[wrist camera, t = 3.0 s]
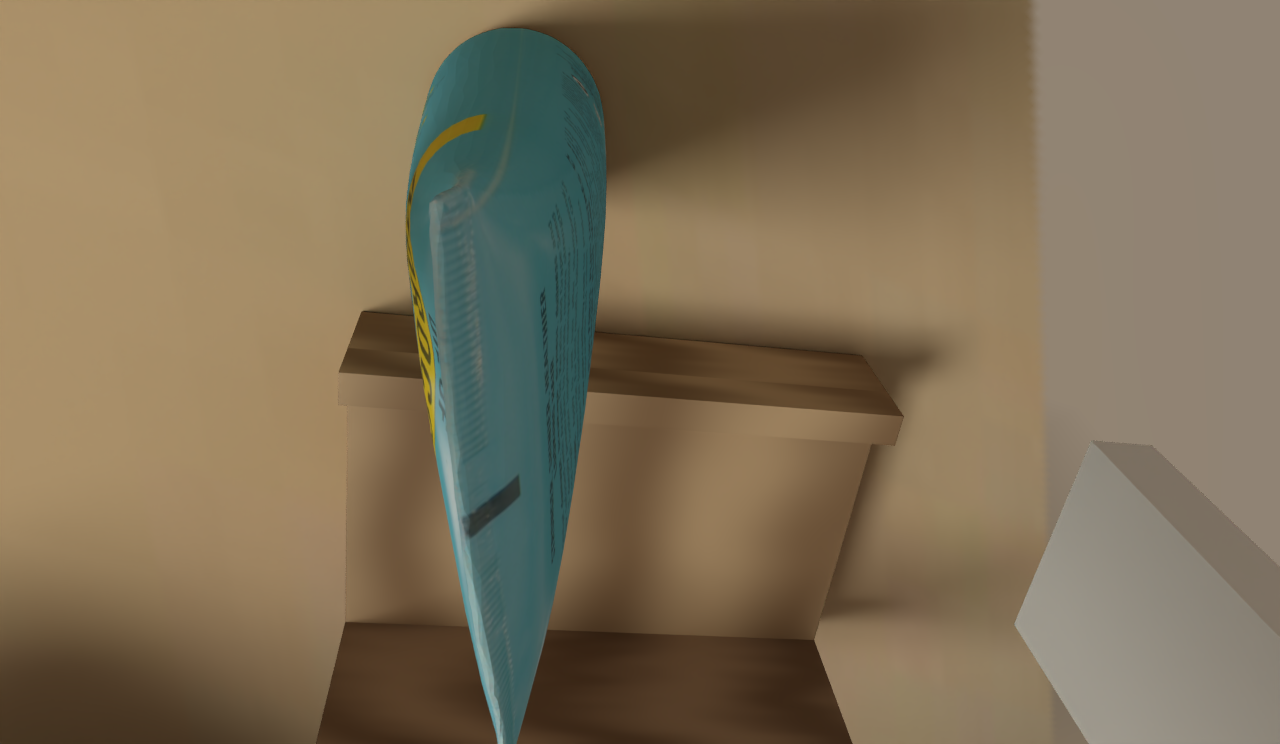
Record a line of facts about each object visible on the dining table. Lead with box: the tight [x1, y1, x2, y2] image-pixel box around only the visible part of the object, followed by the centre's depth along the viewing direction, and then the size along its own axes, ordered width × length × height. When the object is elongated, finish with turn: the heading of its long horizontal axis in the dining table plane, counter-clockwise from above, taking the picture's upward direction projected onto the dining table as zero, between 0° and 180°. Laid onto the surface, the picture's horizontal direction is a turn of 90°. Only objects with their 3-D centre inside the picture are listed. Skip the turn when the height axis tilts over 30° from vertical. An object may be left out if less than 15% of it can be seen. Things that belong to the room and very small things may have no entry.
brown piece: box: [316, 312, 904, 744], centre depth 27 cm, size 16×12×14 cm
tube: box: [406, 28, 606, 744], centre depth 19 cm, size 7×5×19 cm, turn 6°
